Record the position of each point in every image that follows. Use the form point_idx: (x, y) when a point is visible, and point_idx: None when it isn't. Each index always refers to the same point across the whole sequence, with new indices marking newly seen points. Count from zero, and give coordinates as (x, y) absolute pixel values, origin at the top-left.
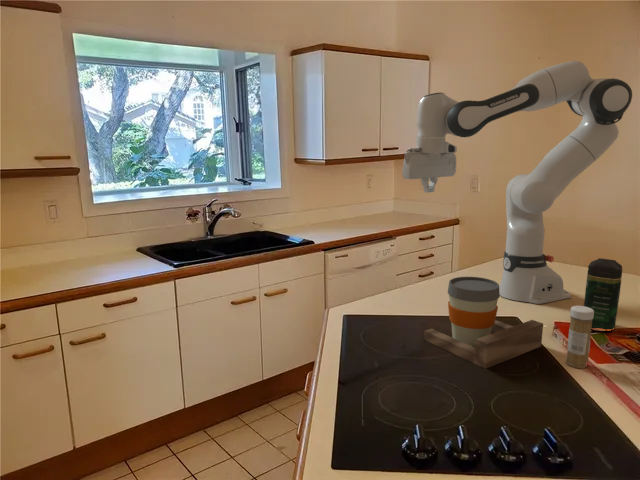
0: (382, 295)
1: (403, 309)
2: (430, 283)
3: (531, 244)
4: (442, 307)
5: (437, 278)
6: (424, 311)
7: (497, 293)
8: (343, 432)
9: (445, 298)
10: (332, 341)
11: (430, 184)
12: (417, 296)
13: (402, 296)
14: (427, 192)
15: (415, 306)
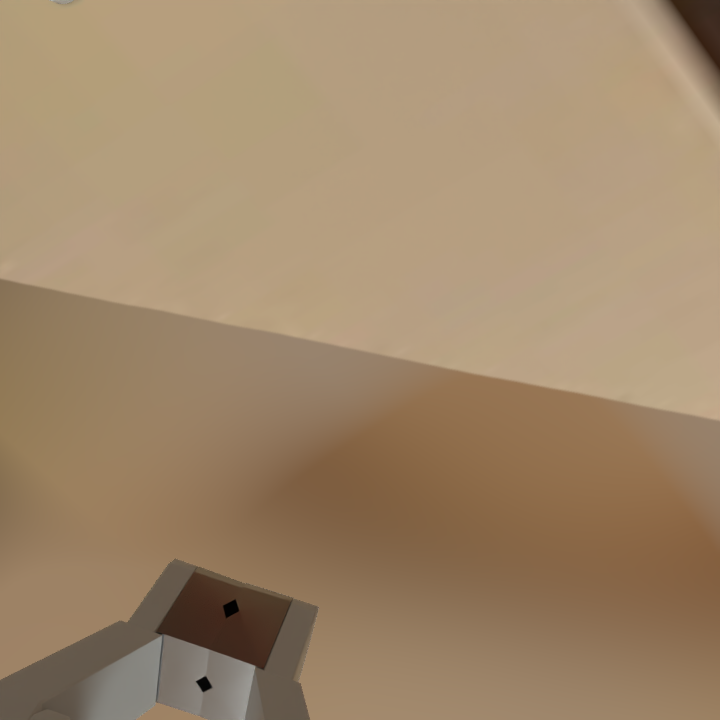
0: (554, 377)
1: (681, 205)
2: (265, 301)
3: None
4: (540, 72)
5: (183, 313)
6: (650, 109)
7: None
8: None
9: (408, 134)
10: None
11: (125, 711)
12: (467, 252)
13: (511, 304)
14: (306, 604)
15: (606, 184)
